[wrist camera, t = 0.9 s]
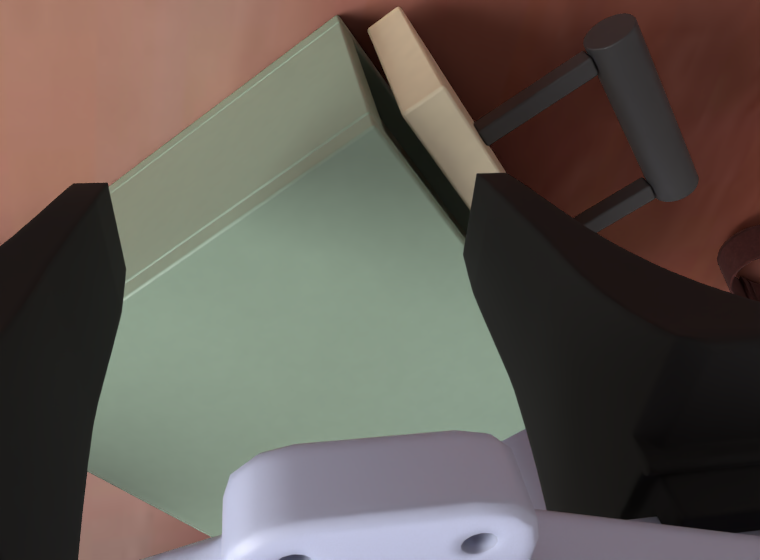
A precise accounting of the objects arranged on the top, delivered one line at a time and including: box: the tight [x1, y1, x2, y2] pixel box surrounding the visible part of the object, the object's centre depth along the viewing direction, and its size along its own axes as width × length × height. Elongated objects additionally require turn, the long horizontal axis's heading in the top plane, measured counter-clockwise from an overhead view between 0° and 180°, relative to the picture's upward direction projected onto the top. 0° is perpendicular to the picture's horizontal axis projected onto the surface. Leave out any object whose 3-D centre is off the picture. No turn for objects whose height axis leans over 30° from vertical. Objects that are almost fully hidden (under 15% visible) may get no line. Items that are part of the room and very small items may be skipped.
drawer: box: [368, 7, 699, 239], centre depth 22 cm, size 17×11×6 cm, turn 123°
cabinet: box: [87, 15, 526, 537], centre depth 23 cm, size 13×12×8 cm
